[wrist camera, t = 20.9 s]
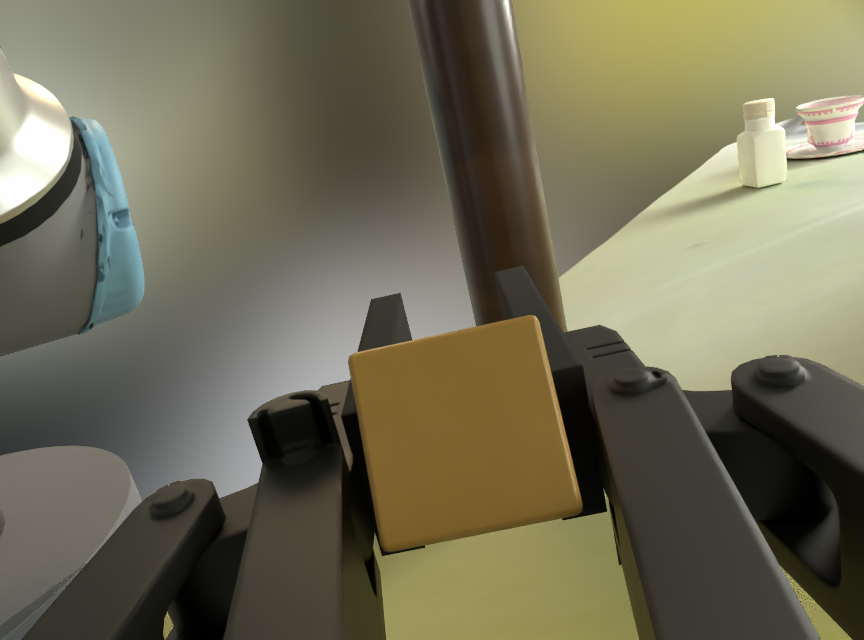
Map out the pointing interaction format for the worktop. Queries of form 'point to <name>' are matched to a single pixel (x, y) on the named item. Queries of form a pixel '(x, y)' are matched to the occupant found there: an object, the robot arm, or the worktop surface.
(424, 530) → the wooden t-shaped block
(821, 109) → the teacup
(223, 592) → the robot arm
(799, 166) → the worktop surface
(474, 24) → the dark brown spool
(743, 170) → the pepper shaker
